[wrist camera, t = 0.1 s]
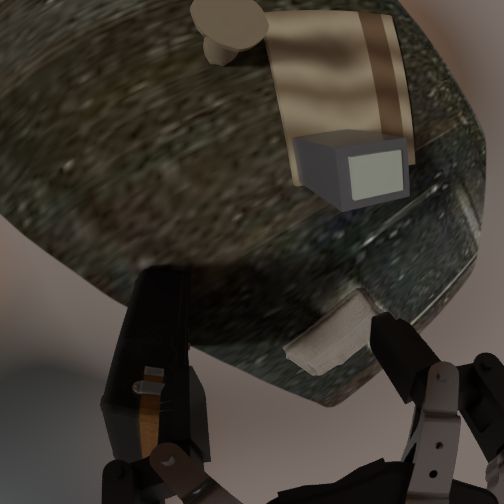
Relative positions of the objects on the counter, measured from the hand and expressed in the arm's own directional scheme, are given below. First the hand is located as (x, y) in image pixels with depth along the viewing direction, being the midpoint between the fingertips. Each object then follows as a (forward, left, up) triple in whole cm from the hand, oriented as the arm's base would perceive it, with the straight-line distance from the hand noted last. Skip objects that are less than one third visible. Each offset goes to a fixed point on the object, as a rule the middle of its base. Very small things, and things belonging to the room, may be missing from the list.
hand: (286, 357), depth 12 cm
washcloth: (+30, +13, -30) cm, 44 cm away
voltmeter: (+15, -14, -29) cm, 36 cm away
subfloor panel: (-11, +19, -29) cm, 36 cm away
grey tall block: (-2, +13, -28) cm, 31 cm away
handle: (-18, +3, -29) cm, 35 cm away
